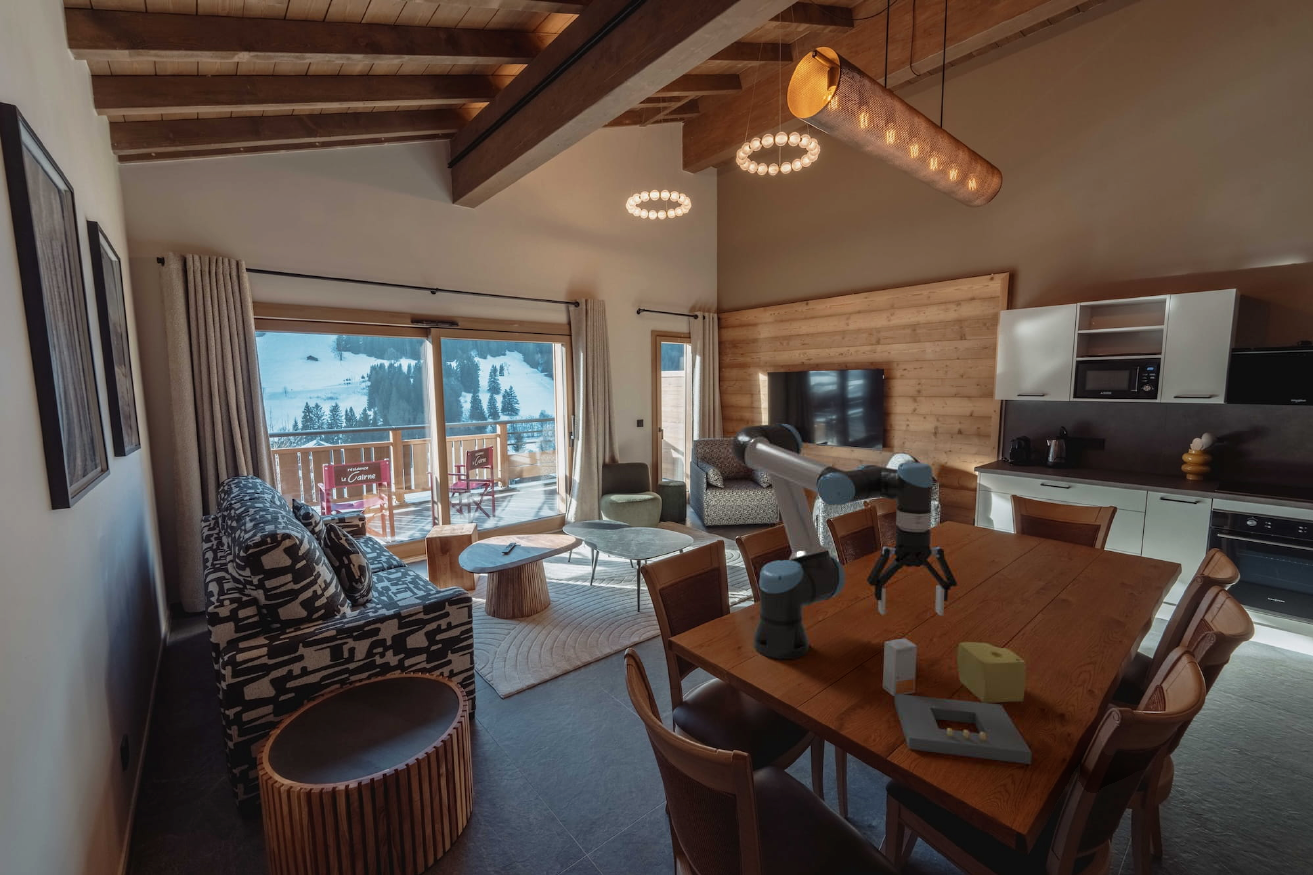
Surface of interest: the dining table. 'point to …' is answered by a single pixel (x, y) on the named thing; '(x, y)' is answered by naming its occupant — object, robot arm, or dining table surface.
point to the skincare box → (899, 666)
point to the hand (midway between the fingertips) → (910, 613)
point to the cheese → (991, 672)
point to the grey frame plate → (990, 719)
